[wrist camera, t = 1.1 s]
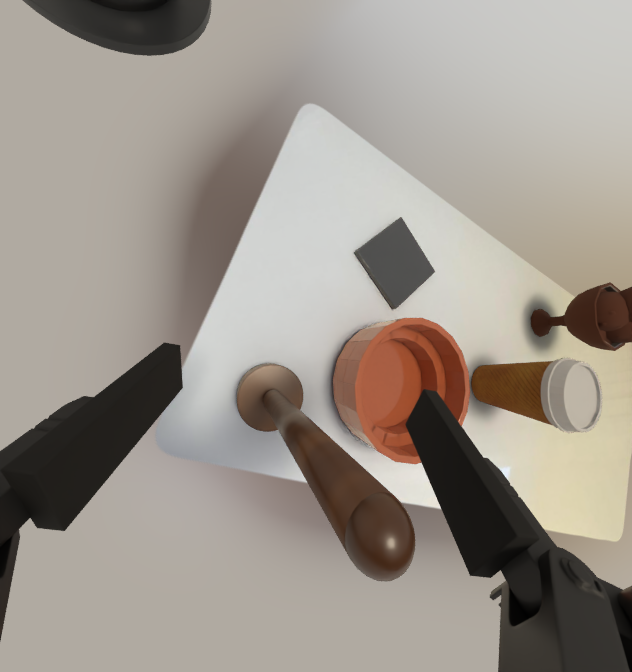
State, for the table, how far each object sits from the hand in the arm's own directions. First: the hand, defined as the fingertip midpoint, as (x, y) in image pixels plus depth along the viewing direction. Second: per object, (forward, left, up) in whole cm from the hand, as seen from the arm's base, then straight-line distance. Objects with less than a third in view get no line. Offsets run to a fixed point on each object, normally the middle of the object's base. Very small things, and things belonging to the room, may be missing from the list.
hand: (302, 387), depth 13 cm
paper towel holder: (+3, -2, -16) cm, 16 cm away
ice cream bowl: (+29, +46, -16) cm, 57 cm away
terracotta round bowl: (+13, +11, -16) cm, 23 cm away
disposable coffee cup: (+27, +26, -16) cm, 41 cm away
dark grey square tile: (+1, +24, -16) cm, 29 cm away
